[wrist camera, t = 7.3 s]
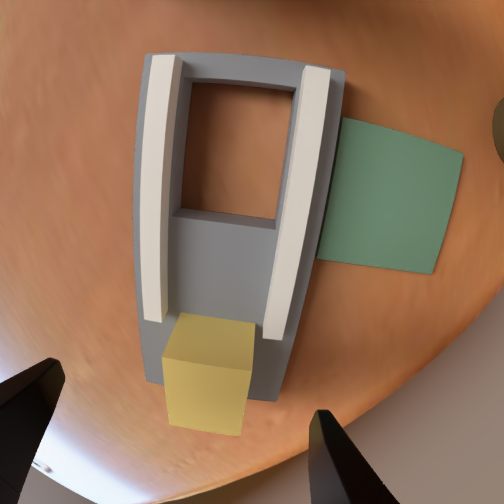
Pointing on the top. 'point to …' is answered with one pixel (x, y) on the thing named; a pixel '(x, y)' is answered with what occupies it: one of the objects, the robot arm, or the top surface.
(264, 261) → the channel deck
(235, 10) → the top surface
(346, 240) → the felt mat
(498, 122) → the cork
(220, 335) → the brick
